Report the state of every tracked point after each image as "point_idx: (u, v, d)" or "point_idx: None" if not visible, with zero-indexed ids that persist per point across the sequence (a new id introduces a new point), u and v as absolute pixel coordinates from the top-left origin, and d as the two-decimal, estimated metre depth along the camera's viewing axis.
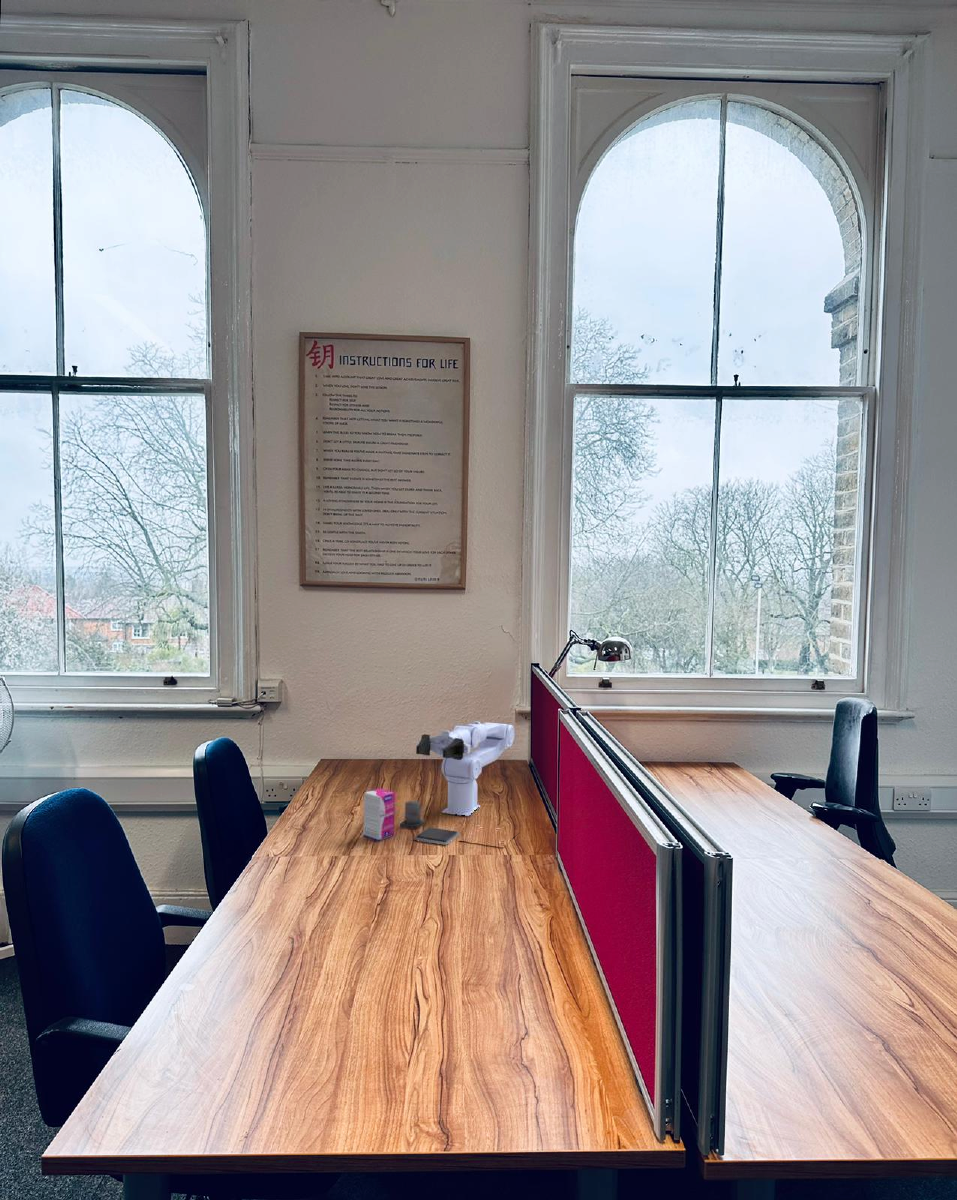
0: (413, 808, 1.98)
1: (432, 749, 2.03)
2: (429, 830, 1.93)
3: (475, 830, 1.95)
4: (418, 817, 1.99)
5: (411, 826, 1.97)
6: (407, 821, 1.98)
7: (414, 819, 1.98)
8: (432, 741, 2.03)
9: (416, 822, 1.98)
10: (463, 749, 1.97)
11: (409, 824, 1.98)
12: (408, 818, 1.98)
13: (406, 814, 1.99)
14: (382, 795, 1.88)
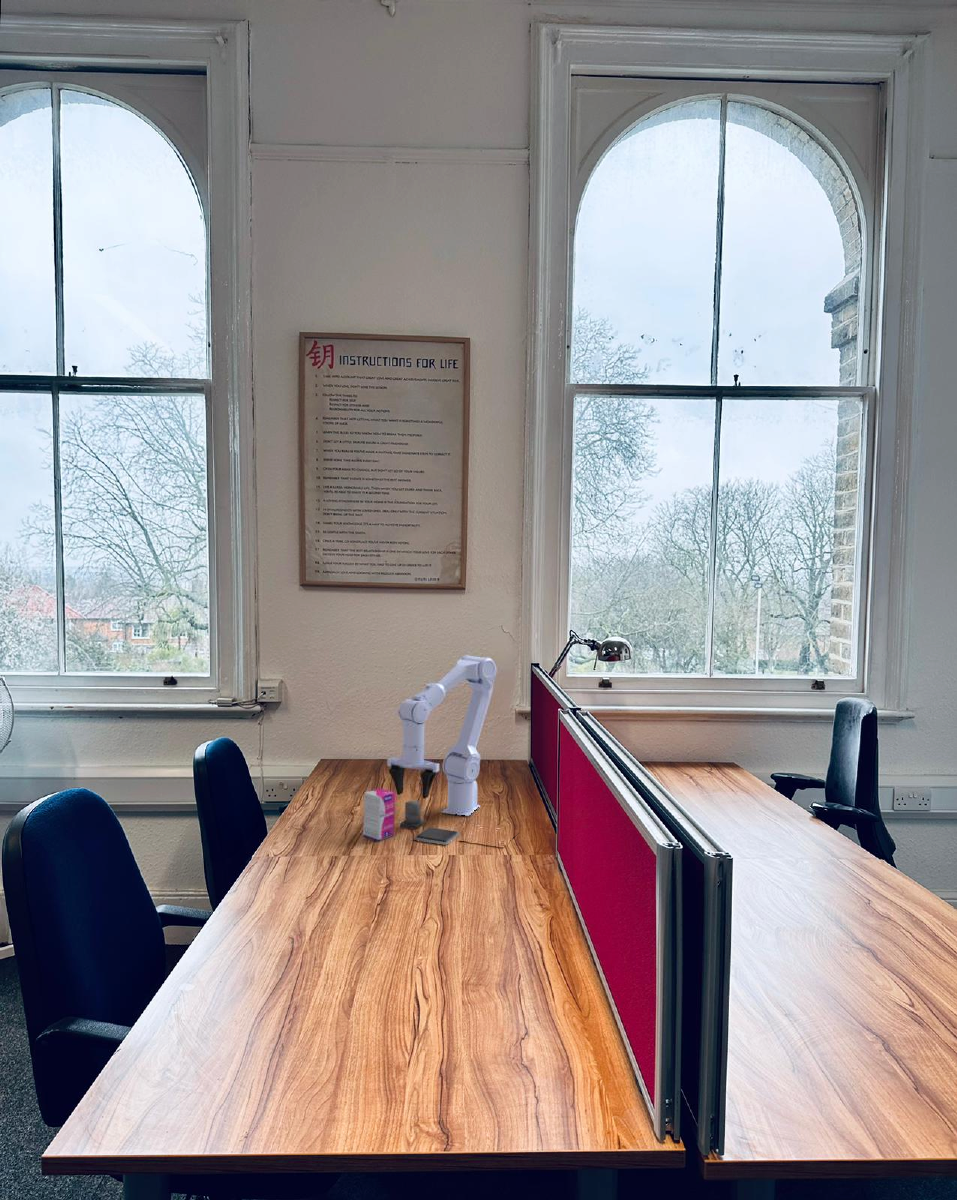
0: (413, 808, 1.98)
1: None
2: (429, 830, 1.93)
3: (475, 830, 1.95)
4: (418, 817, 1.99)
5: (411, 826, 1.97)
6: (407, 821, 1.98)
7: (414, 819, 1.98)
8: None
9: (416, 822, 1.98)
10: (434, 772, 1.97)
11: (409, 824, 1.98)
12: (408, 818, 1.98)
13: (406, 814, 1.99)
14: (382, 795, 1.88)
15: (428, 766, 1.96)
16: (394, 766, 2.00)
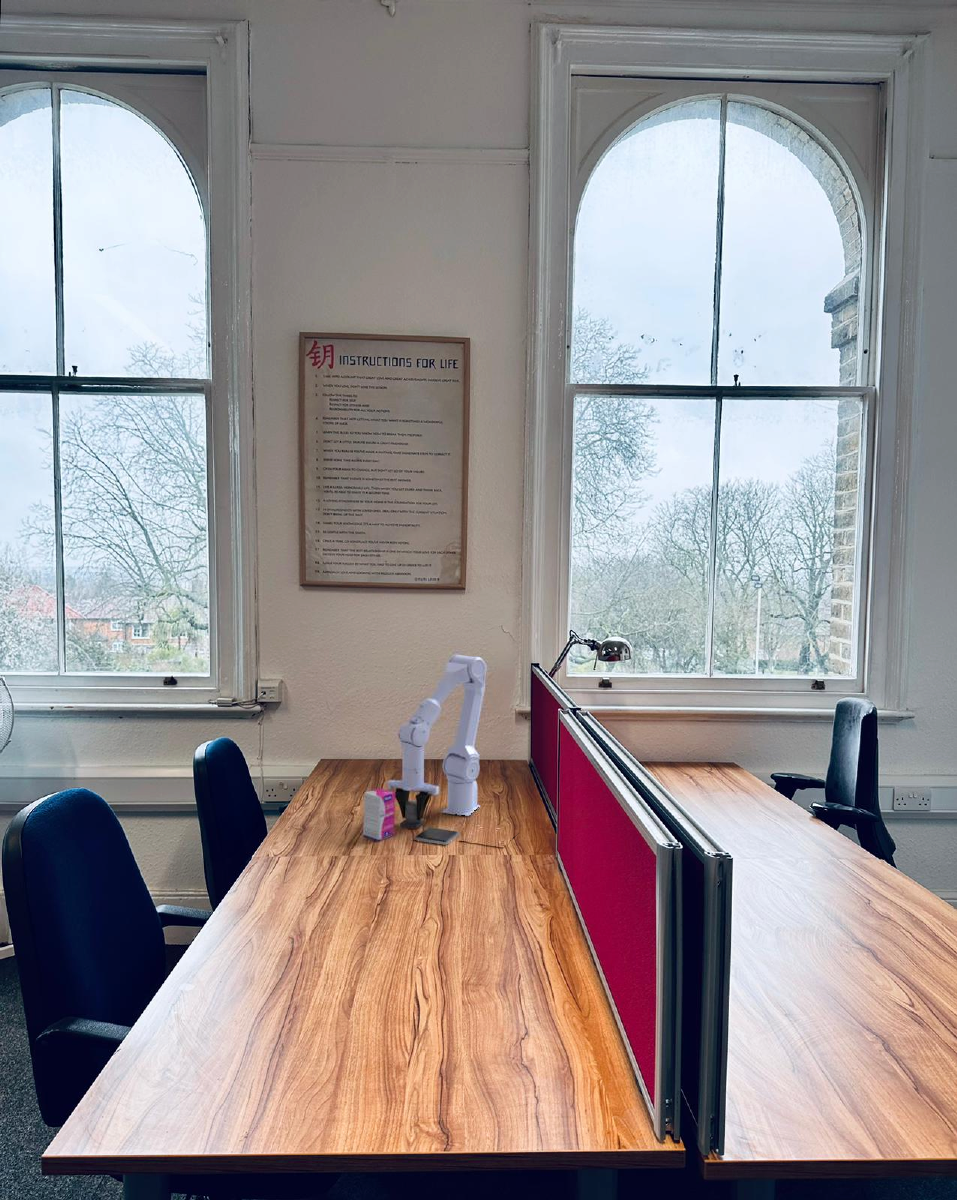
0: (413, 808, 1.98)
1: None
2: (429, 830, 1.93)
3: (475, 830, 1.95)
4: None
5: (411, 826, 1.97)
6: (407, 821, 1.98)
7: (414, 819, 1.98)
8: None
9: (416, 822, 1.98)
10: (428, 794, 1.98)
11: (409, 824, 1.98)
12: (408, 818, 1.98)
13: (406, 814, 1.99)
14: (382, 795, 1.88)
15: (428, 789, 1.96)
16: (394, 788, 2.01)
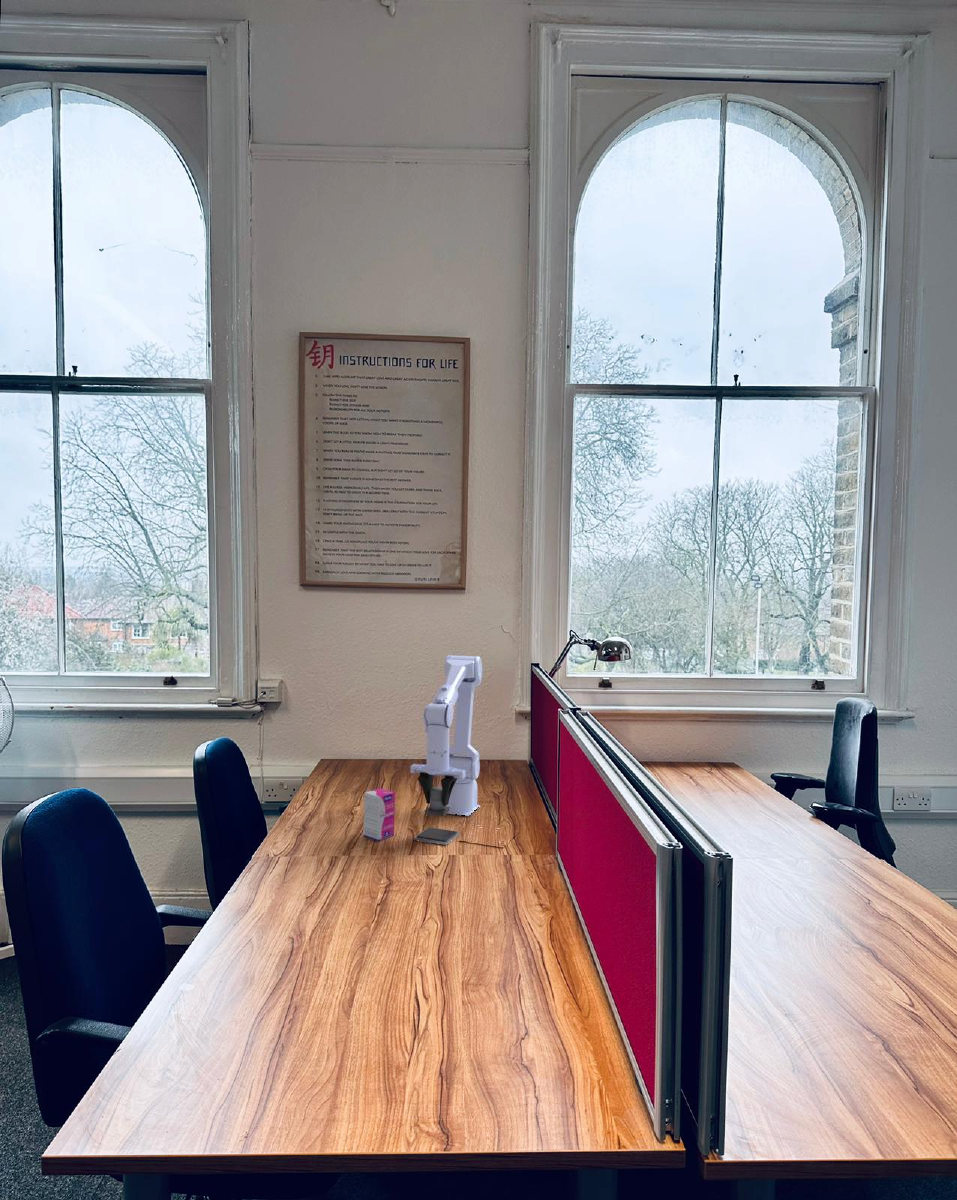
0: (439, 794, 1.88)
1: None
2: (429, 830, 1.93)
3: (475, 830, 1.95)
4: None
5: (437, 813, 1.88)
6: (433, 808, 1.89)
7: (440, 805, 1.89)
8: None
9: (442, 809, 1.89)
10: (454, 778, 1.88)
11: (435, 811, 1.88)
12: (433, 805, 1.89)
13: (431, 800, 1.89)
14: (382, 795, 1.88)
15: (454, 773, 1.87)
16: None
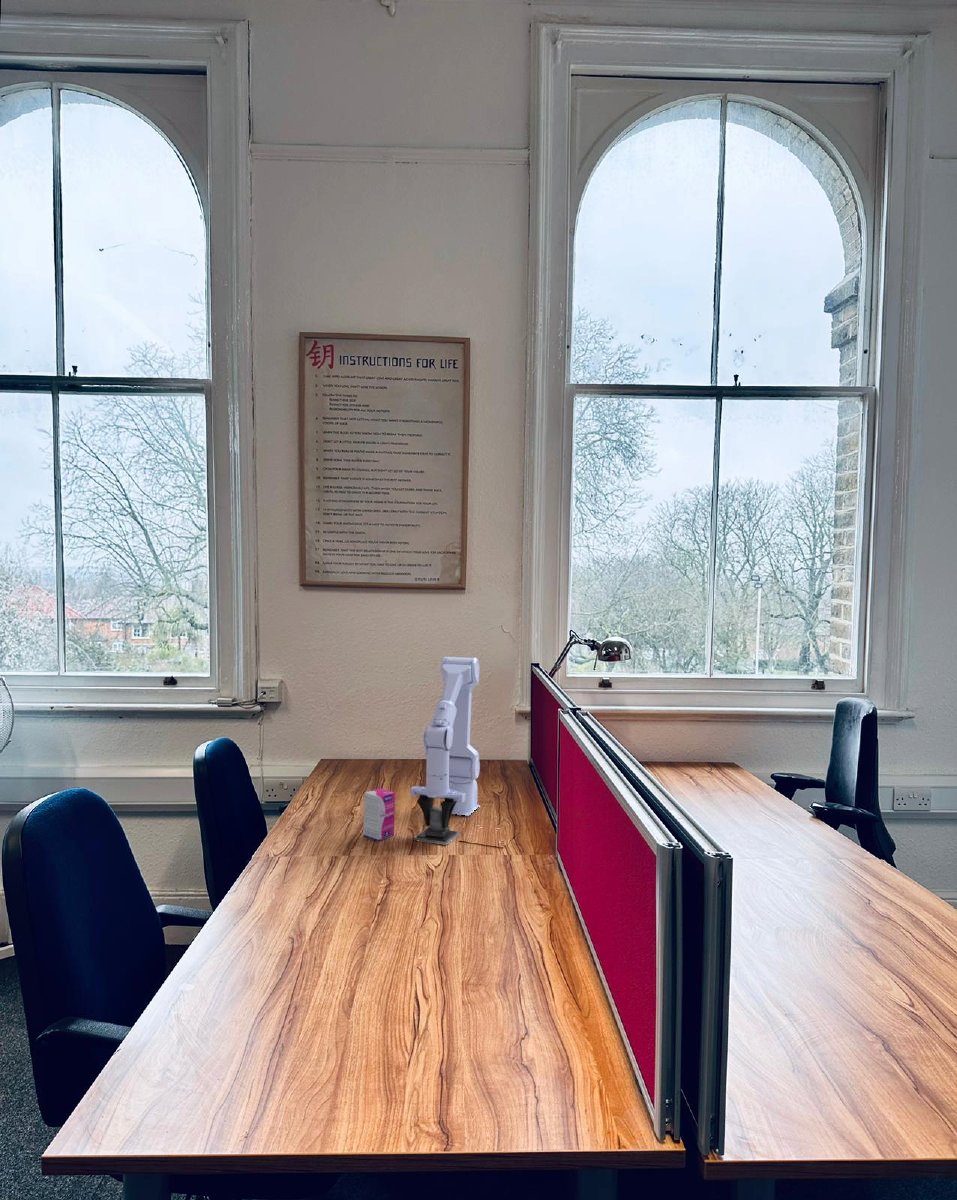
0: (438, 815, 1.88)
1: None
2: None
3: (475, 830, 1.95)
4: None
5: (437, 833, 1.88)
6: (433, 828, 1.89)
7: (440, 826, 1.89)
8: None
9: (442, 829, 1.89)
10: (454, 801, 1.88)
11: (435, 831, 1.88)
12: (433, 826, 1.89)
13: (431, 821, 1.89)
14: (382, 795, 1.88)
15: (454, 796, 1.87)
16: None
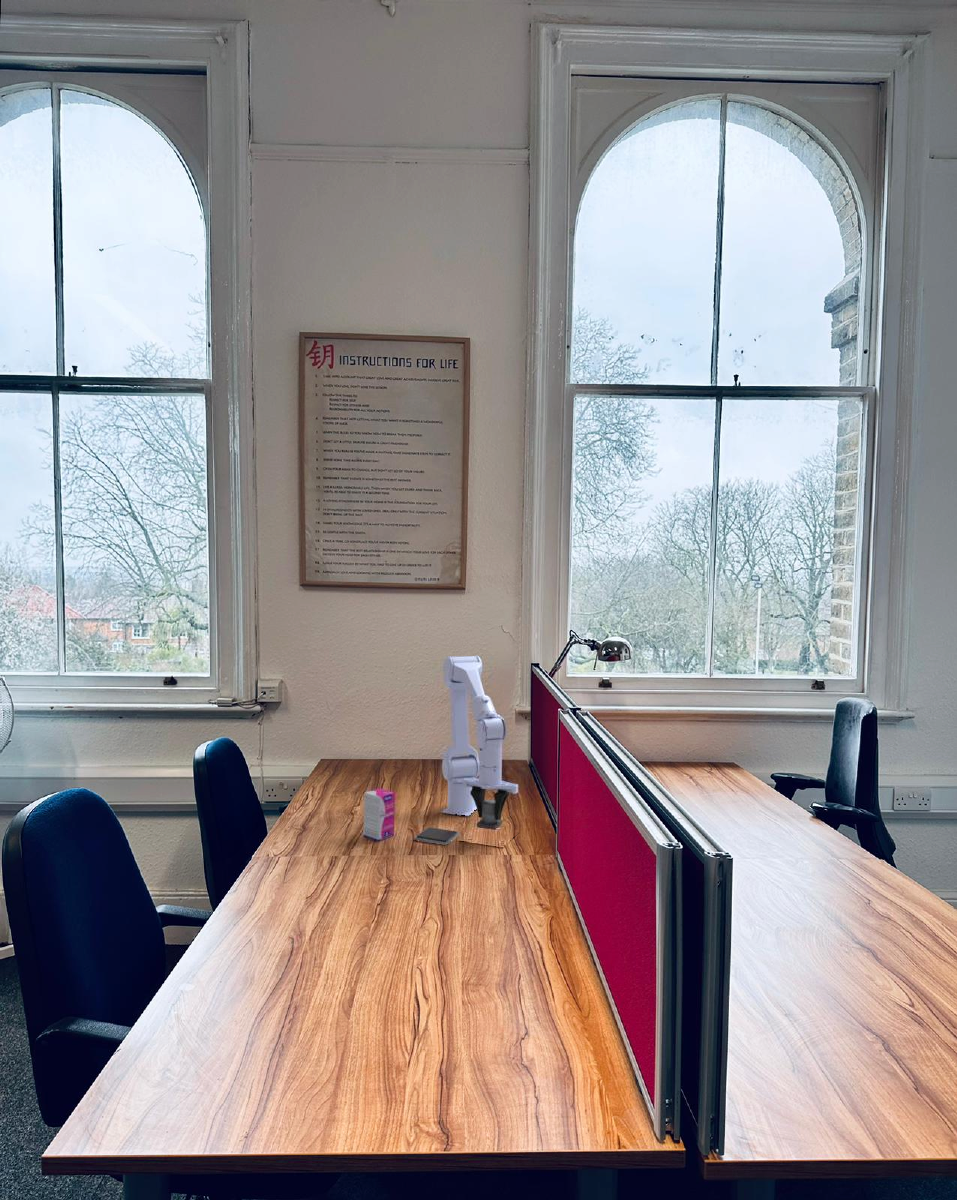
0: (491, 807, 1.89)
1: None
2: (429, 830, 1.93)
3: (475, 830, 1.95)
4: None
5: (489, 826, 1.89)
6: (485, 821, 1.90)
7: (492, 819, 1.89)
8: None
9: (494, 822, 1.90)
10: (507, 793, 1.89)
11: (487, 824, 1.89)
12: (485, 818, 1.90)
13: (483, 814, 1.90)
14: (382, 795, 1.88)
15: (507, 787, 1.88)
16: (470, 787, 1.92)
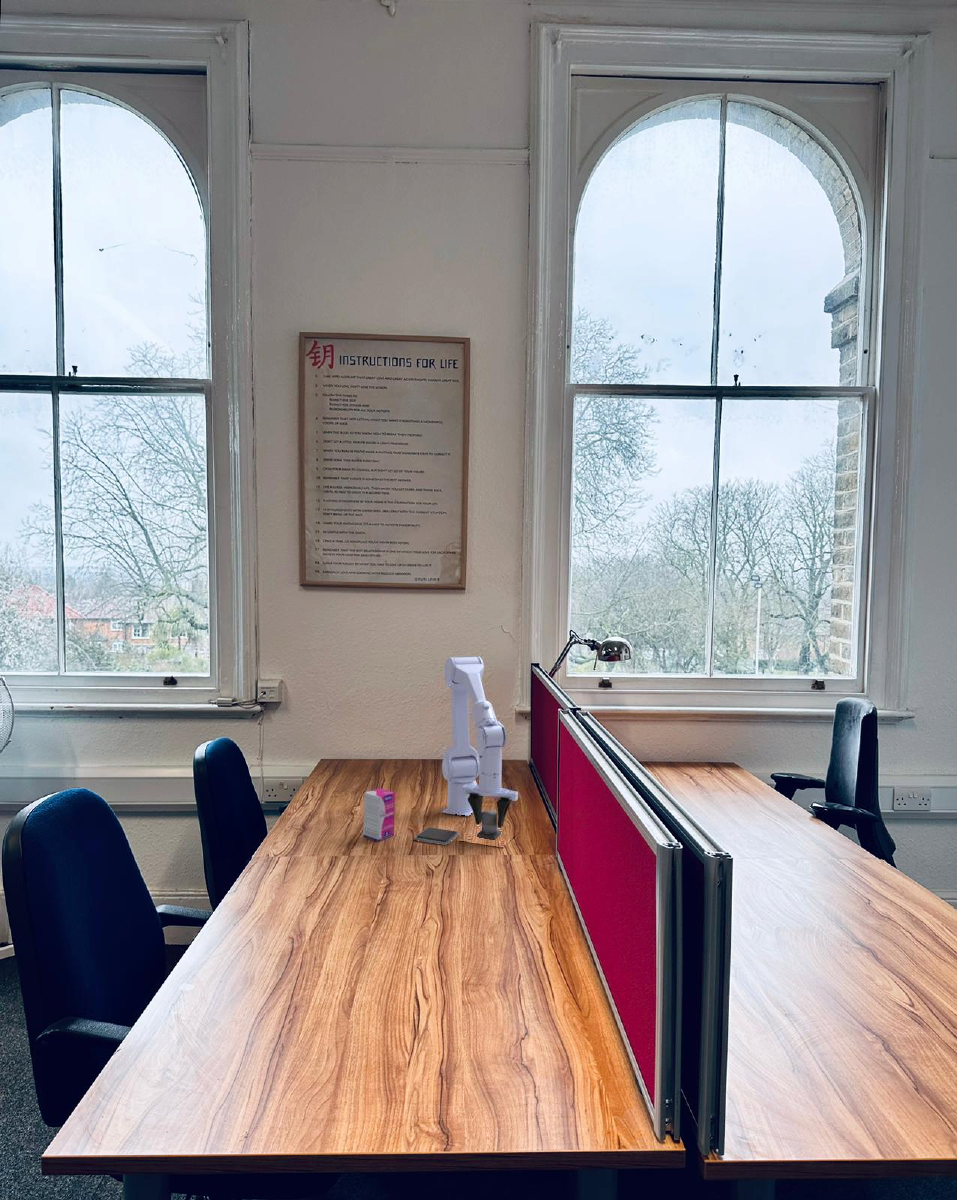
0: (490, 818, 1.89)
1: None
2: (429, 830, 1.93)
3: (475, 830, 1.95)
4: (495, 827, 1.90)
5: (489, 837, 1.89)
6: (484, 831, 1.90)
7: (492, 829, 1.90)
8: None
9: (493, 833, 1.90)
10: (509, 800, 1.89)
11: (486, 835, 1.89)
12: (485, 829, 1.90)
13: (483, 824, 1.90)
14: (382, 795, 1.88)
15: (507, 794, 1.88)
16: (470, 794, 1.92)
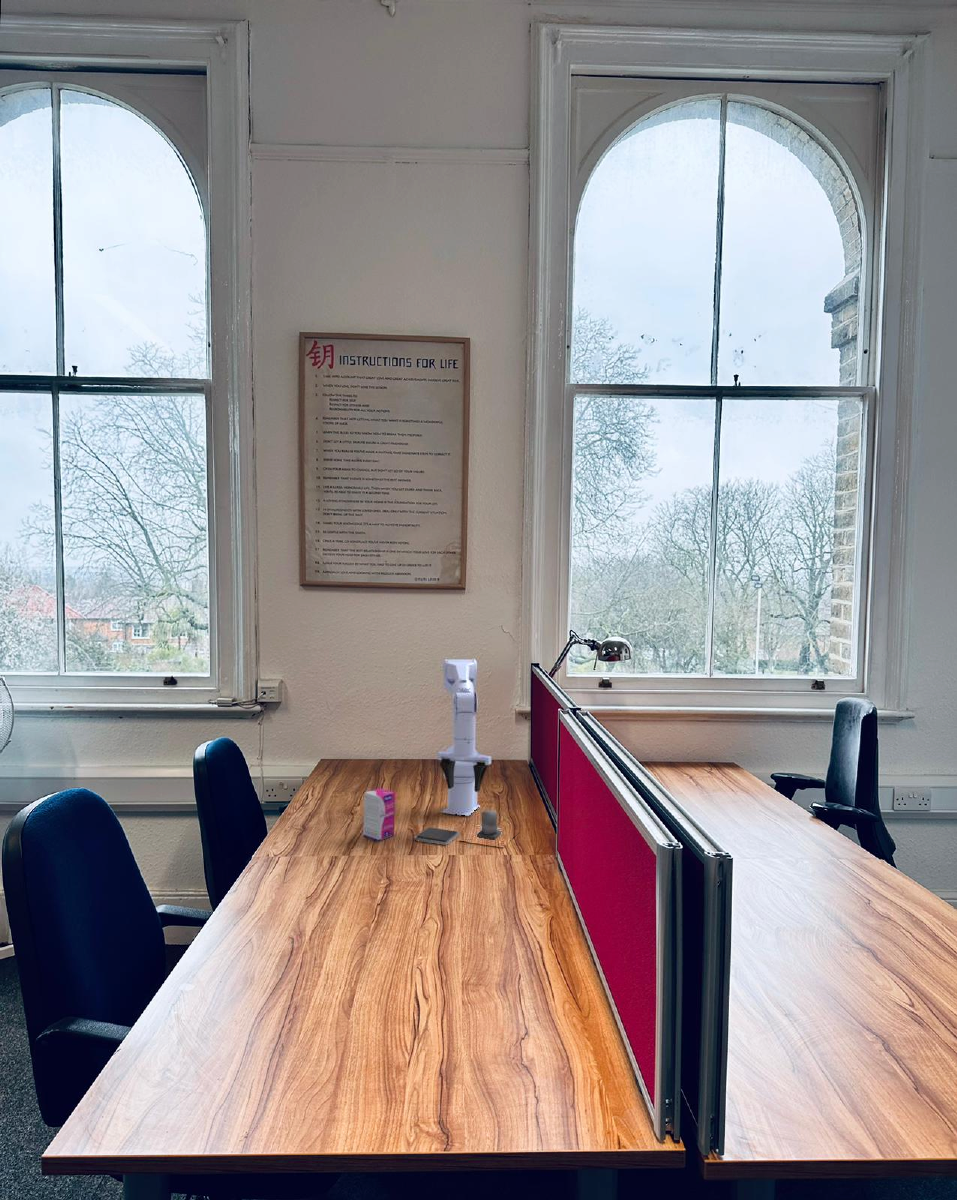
0: (490, 818, 1.89)
1: None
2: (429, 830, 1.93)
3: (475, 830, 1.95)
4: (495, 827, 1.90)
5: (489, 837, 1.89)
6: (484, 831, 1.90)
7: (492, 829, 1.90)
8: None
9: (493, 833, 1.90)
10: (485, 765, 1.95)
11: (486, 835, 1.89)
12: (485, 829, 1.90)
13: (483, 824, 1.90)
14: (382, 795, 1.88)
15: (480, 759, 1.94)
16: (445, 760, 1.99)
